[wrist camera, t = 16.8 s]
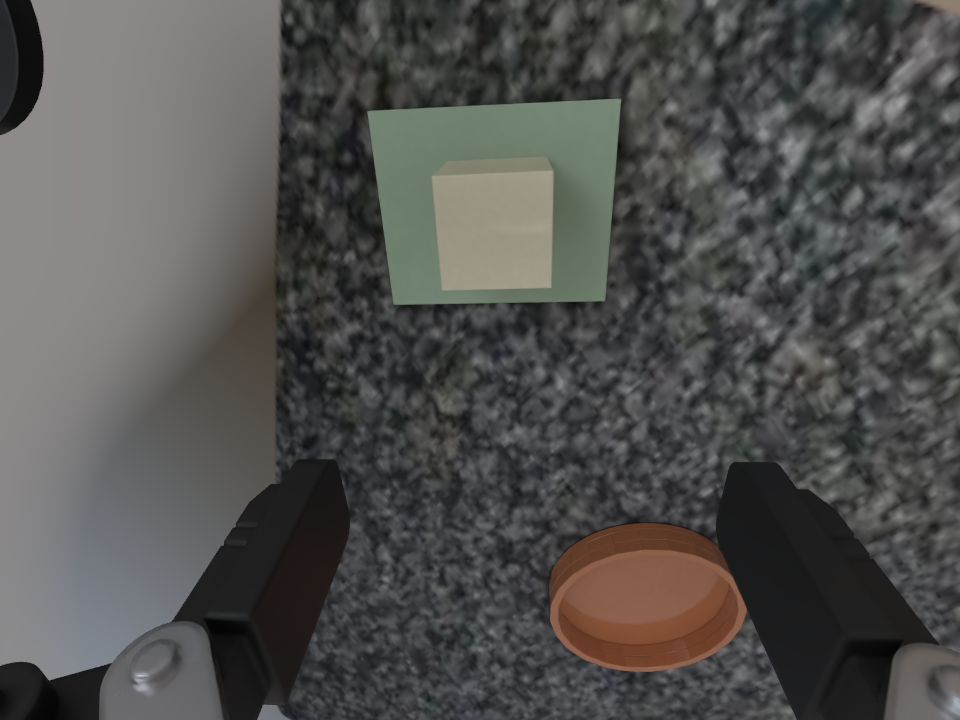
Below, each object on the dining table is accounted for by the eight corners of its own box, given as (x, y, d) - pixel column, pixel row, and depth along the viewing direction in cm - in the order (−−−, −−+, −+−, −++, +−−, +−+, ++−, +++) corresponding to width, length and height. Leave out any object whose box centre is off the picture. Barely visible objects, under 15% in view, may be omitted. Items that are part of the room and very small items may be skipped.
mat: (395, 301, 29) (393, 305, 29) (369, 110, 24) (367, 111, 24) (603, 298, 28) (605, 301, 28) (619, 98, 23) (621, 98, 23)
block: (453, 259, 27) (441, 291, 23) (446, 160, 25) (431, 175, 20) (546, 256, 27) (552, 288, 22) (547, 156, 24) (554, 170, 20)
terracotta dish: (546, 639, 43) (548, 668, 41) (550, 520, 36) (552, 548, 34) (715, 645, 42) (726, 675, 40) (751, 524, 35) (766, 552, 33)
